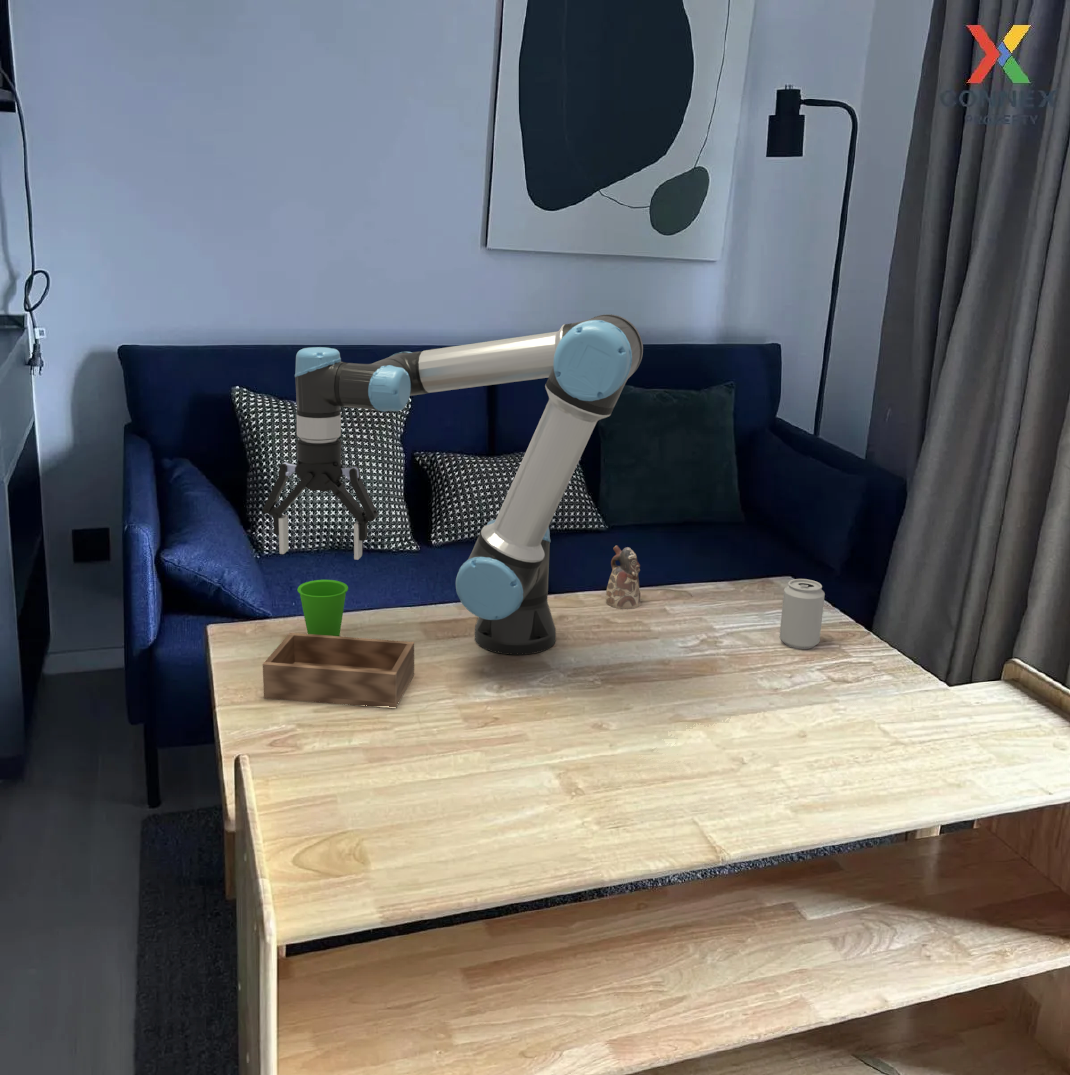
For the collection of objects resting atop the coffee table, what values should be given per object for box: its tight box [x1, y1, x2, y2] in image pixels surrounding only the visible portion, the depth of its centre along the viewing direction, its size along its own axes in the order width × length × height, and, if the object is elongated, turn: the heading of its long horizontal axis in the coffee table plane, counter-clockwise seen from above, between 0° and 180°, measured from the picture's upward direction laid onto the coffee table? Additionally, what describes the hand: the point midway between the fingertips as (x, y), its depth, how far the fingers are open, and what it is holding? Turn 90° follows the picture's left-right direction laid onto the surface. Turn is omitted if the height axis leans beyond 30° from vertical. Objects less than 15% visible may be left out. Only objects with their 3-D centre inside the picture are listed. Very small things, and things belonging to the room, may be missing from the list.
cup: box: [296, 579, 349, 636], centre depth 214 cm, size 9×9×11 cm
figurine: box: [605, 545, 641, 610], centre depth 240 cm, size 7×7×12 cm
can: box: [778, 578, 826, 650], centre depth 222 cm, size 8×8×12 cm
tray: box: [262, 632, 415, 708], centre depth 198 cm, size 22×14×6 cm, turn 83°
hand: (321, 554), depth 211 cm, fingers open, 13 cm apart
